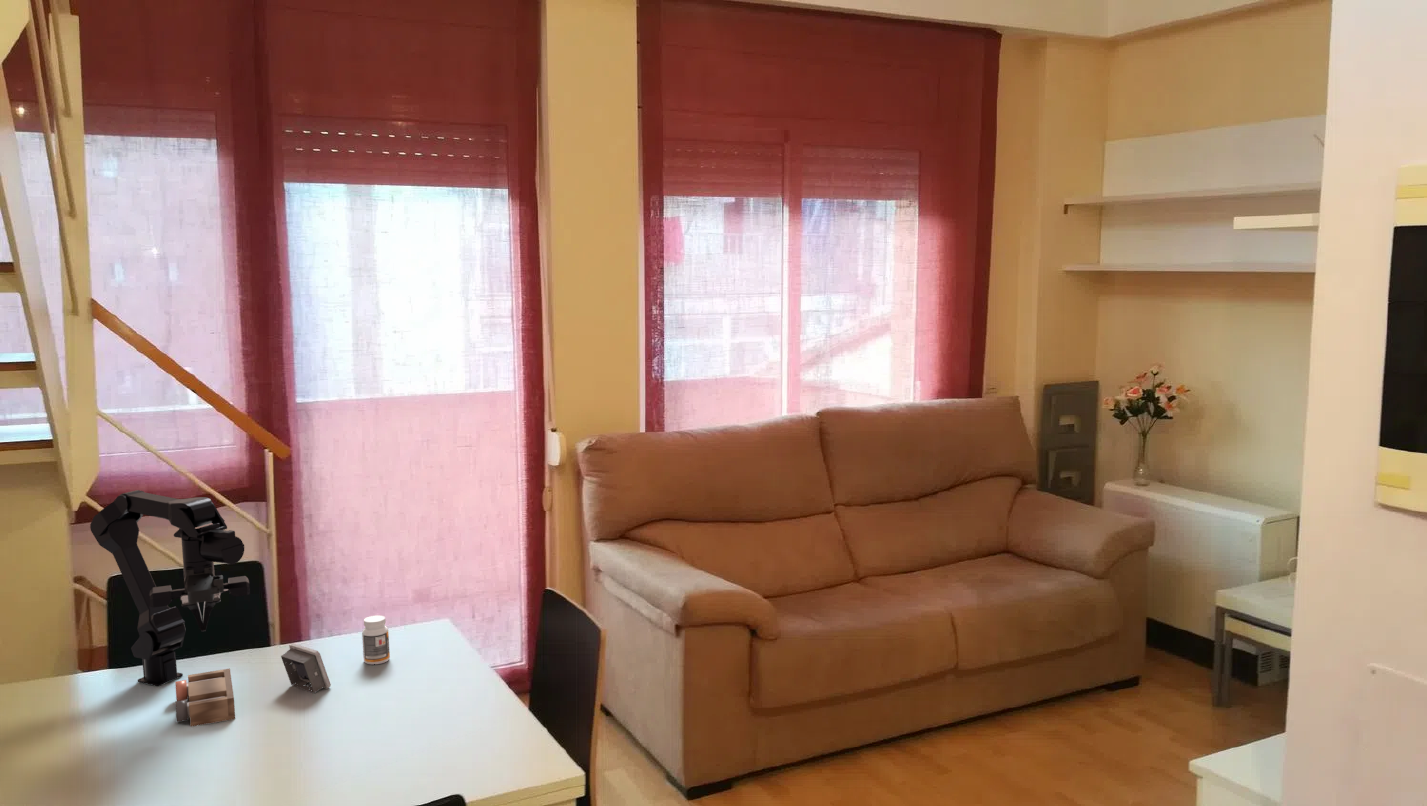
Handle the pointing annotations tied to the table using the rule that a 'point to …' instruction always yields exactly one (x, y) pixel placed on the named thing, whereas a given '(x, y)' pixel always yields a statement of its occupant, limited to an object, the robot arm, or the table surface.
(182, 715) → the white and gray knob
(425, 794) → the table surface
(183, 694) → the red knob
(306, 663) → the electrical switch
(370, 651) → the pill bottle
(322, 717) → the table surface
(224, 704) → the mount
